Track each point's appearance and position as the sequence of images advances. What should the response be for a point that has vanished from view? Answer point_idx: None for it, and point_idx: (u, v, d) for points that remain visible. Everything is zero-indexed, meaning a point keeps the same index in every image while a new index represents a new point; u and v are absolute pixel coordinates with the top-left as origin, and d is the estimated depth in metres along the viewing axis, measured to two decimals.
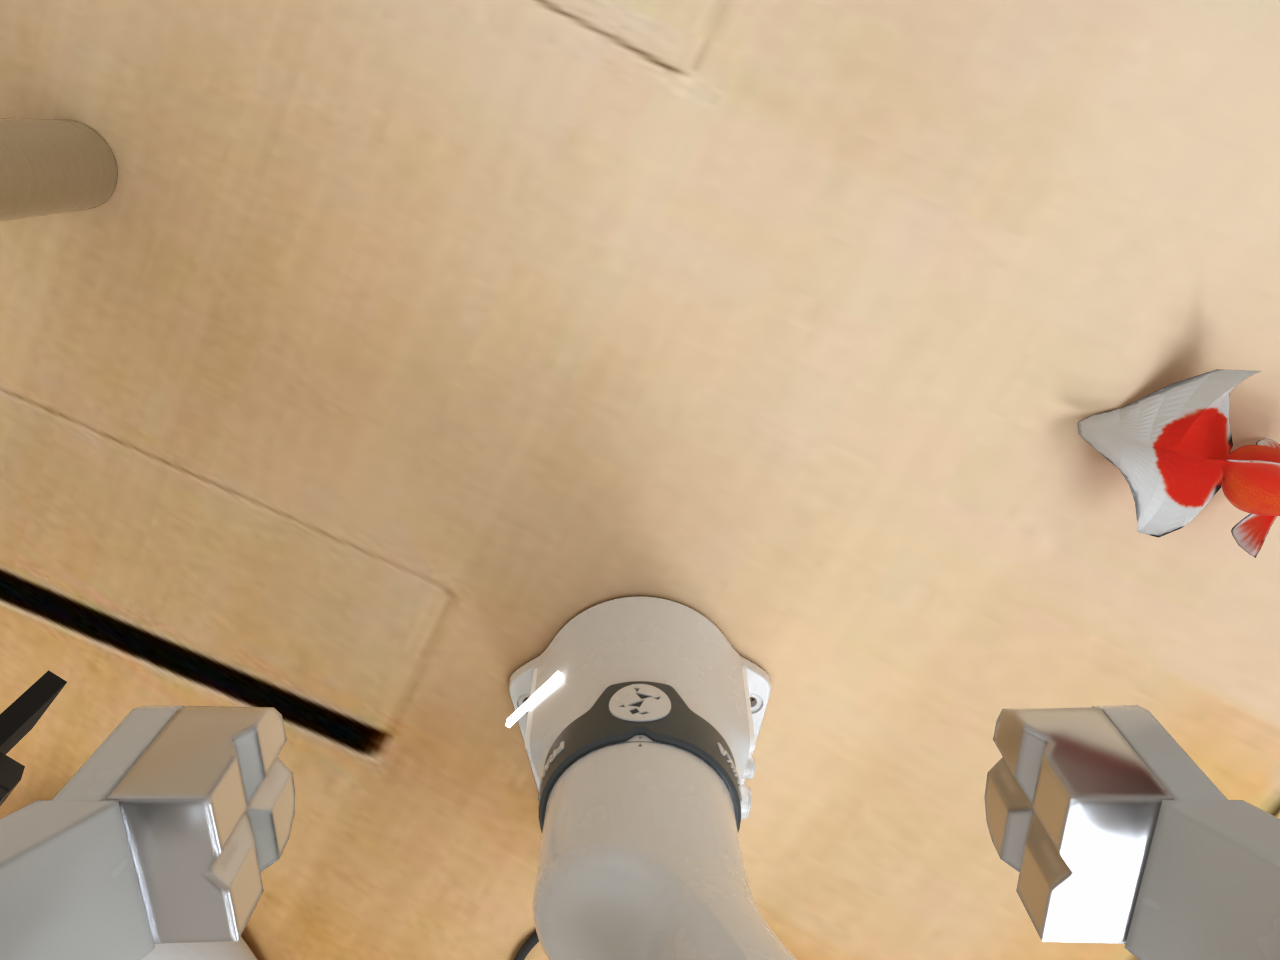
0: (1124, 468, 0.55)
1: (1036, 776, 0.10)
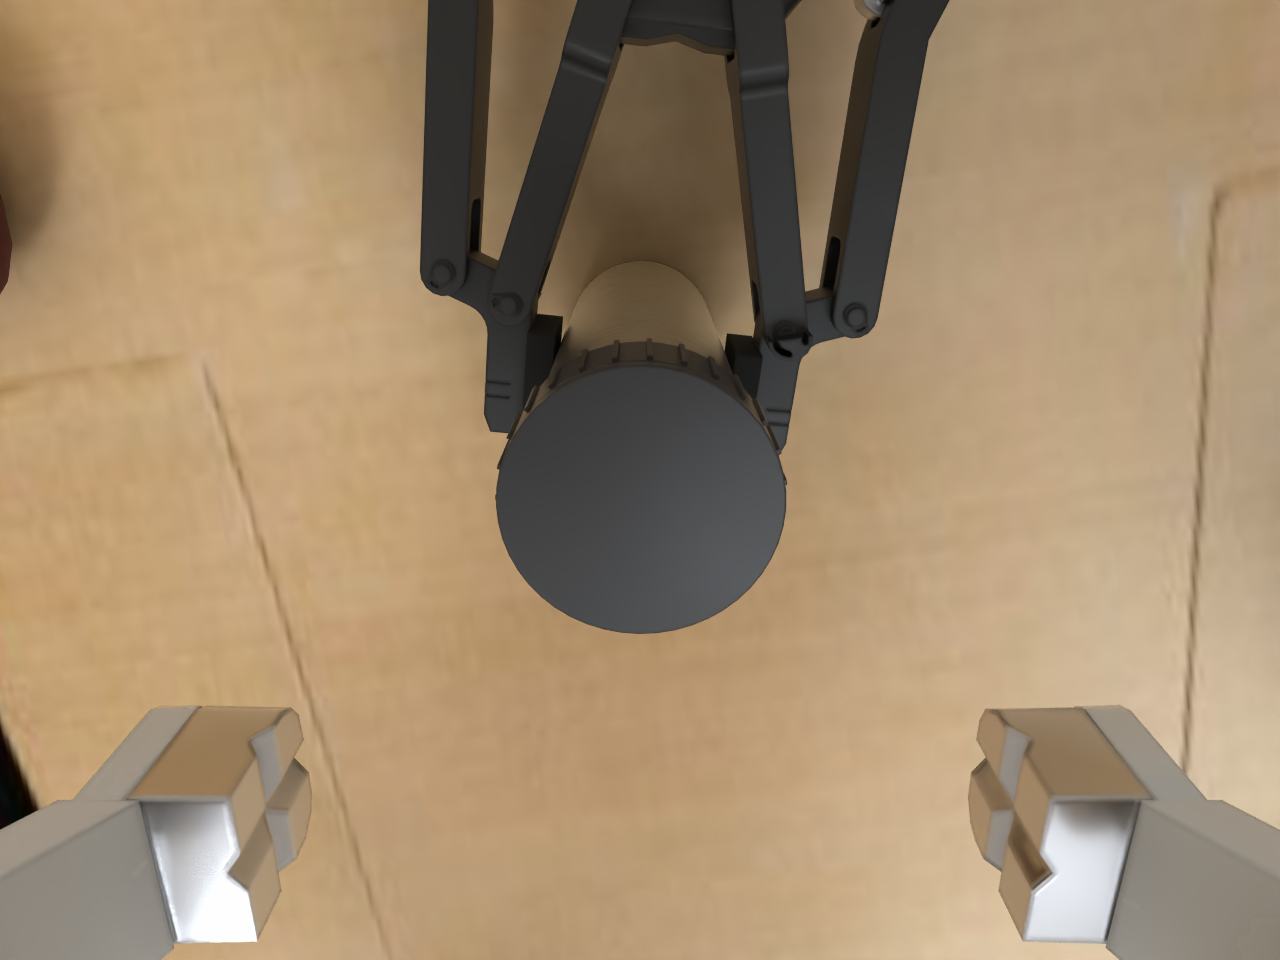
0: None
1: (1018, 776, 0.10)
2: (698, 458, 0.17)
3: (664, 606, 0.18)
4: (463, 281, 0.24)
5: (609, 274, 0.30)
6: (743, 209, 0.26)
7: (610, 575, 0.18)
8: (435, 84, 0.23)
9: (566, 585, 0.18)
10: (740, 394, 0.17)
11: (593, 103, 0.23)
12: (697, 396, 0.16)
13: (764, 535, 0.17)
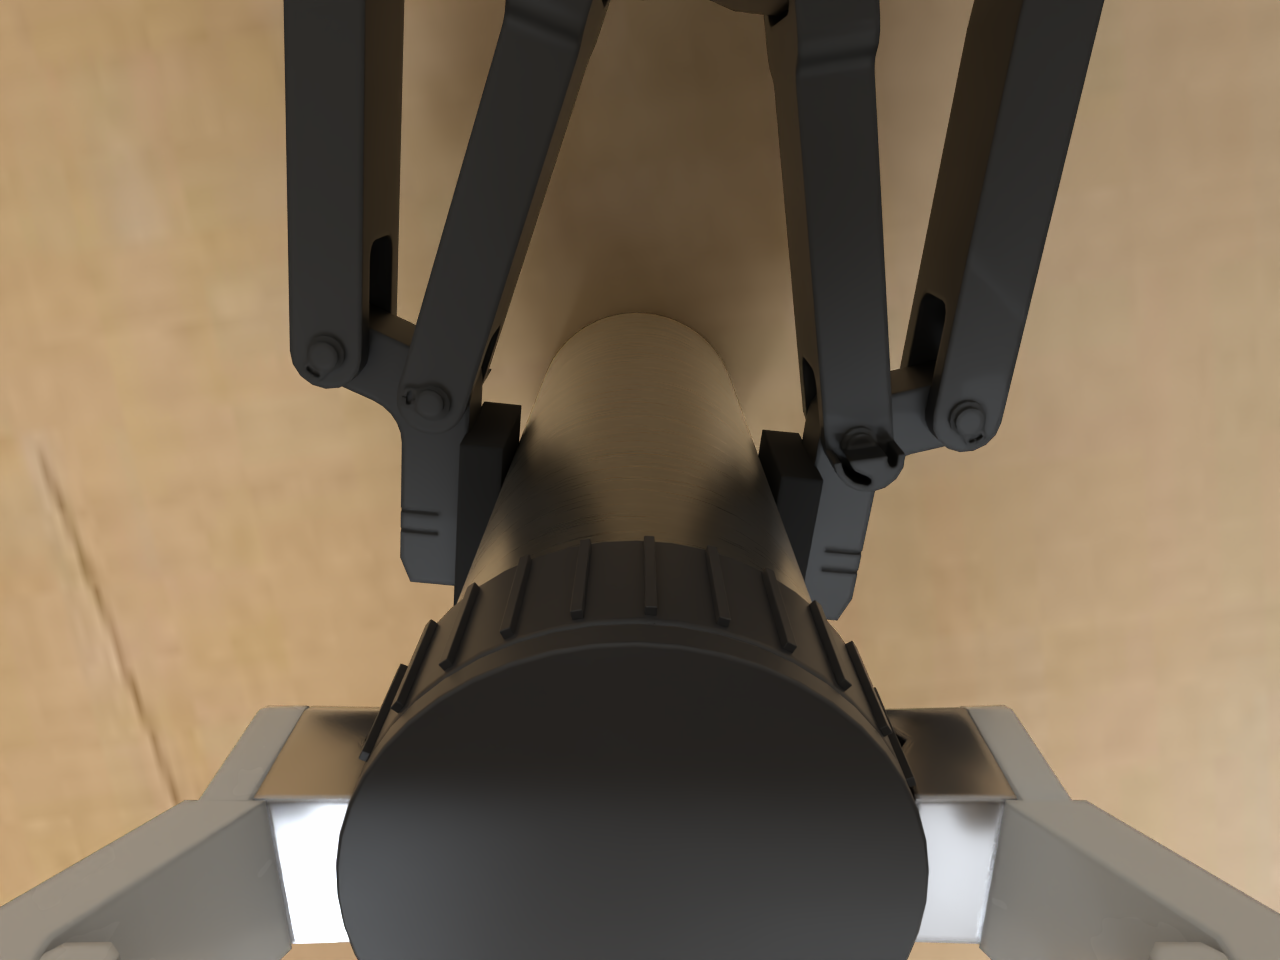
0: None
1: None
2: (750, 815, 0.08)
3: None
4: (358, 366, 0.16)
5: (592, 335, 0.21)
6: (791, 251, 0.17)
7: None
8: (300, 56, 0.14)
9: None
10: (837, 676, 0.08)
11: (559, 88, 0.14)
12: (752, 701, 0.08)
13: (880, 947, 0.09)
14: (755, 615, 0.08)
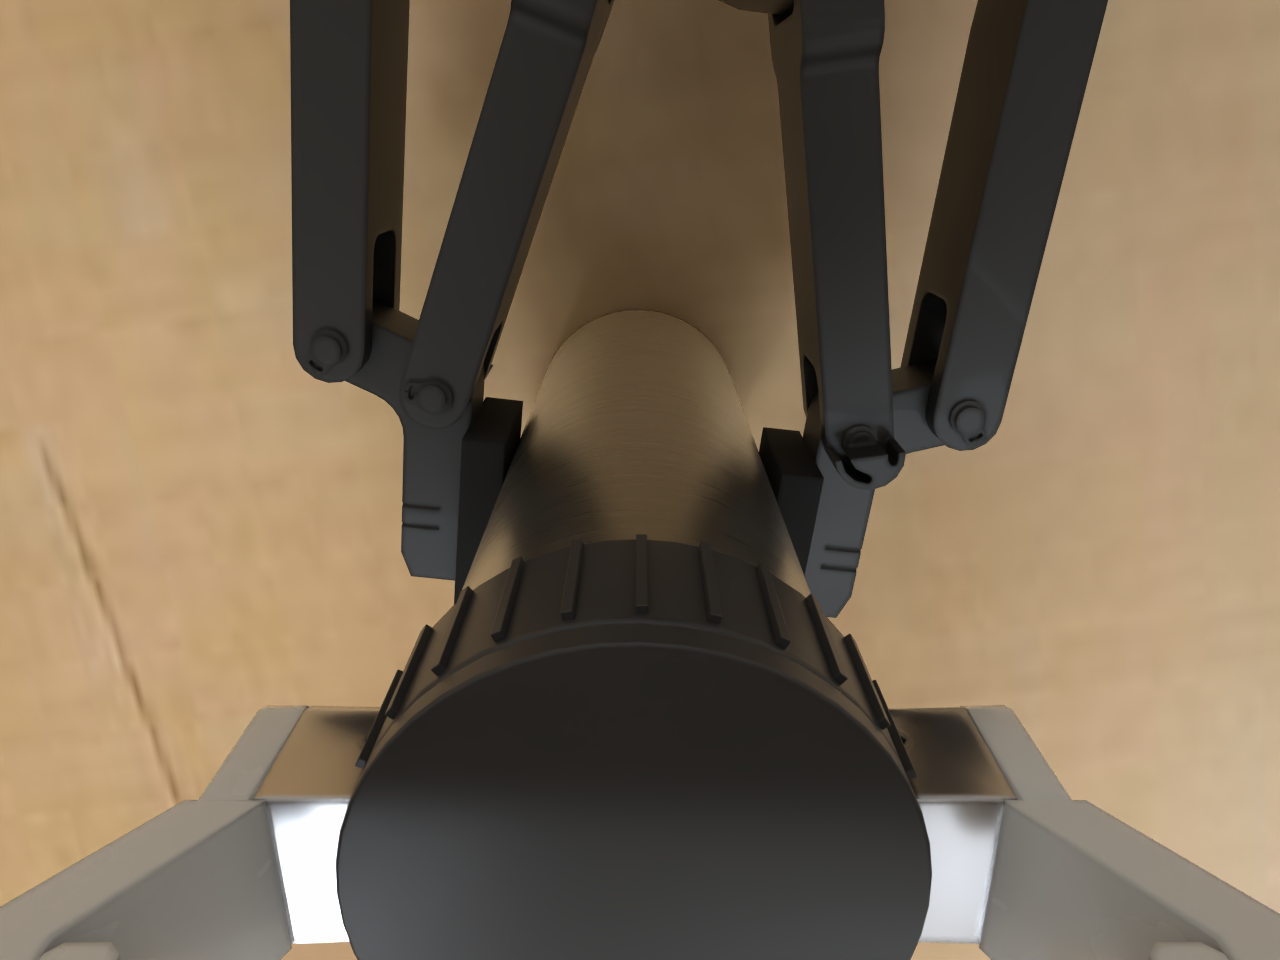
0: None
1: None
2: (538, 798, 0.08)
3: (869, 888, 0.08)
4: (361, 360, 0.16)
5: (593, 332, 0.21)
6: (793, 250, 0.17)
7: None
8: (306, 50, 0.14)
9: None
10: (437, 668, 0.08)
11: (564, 84, 0.14)
12: (403, 785, 0.08)
13: (741, 693, 0.08)
14: None
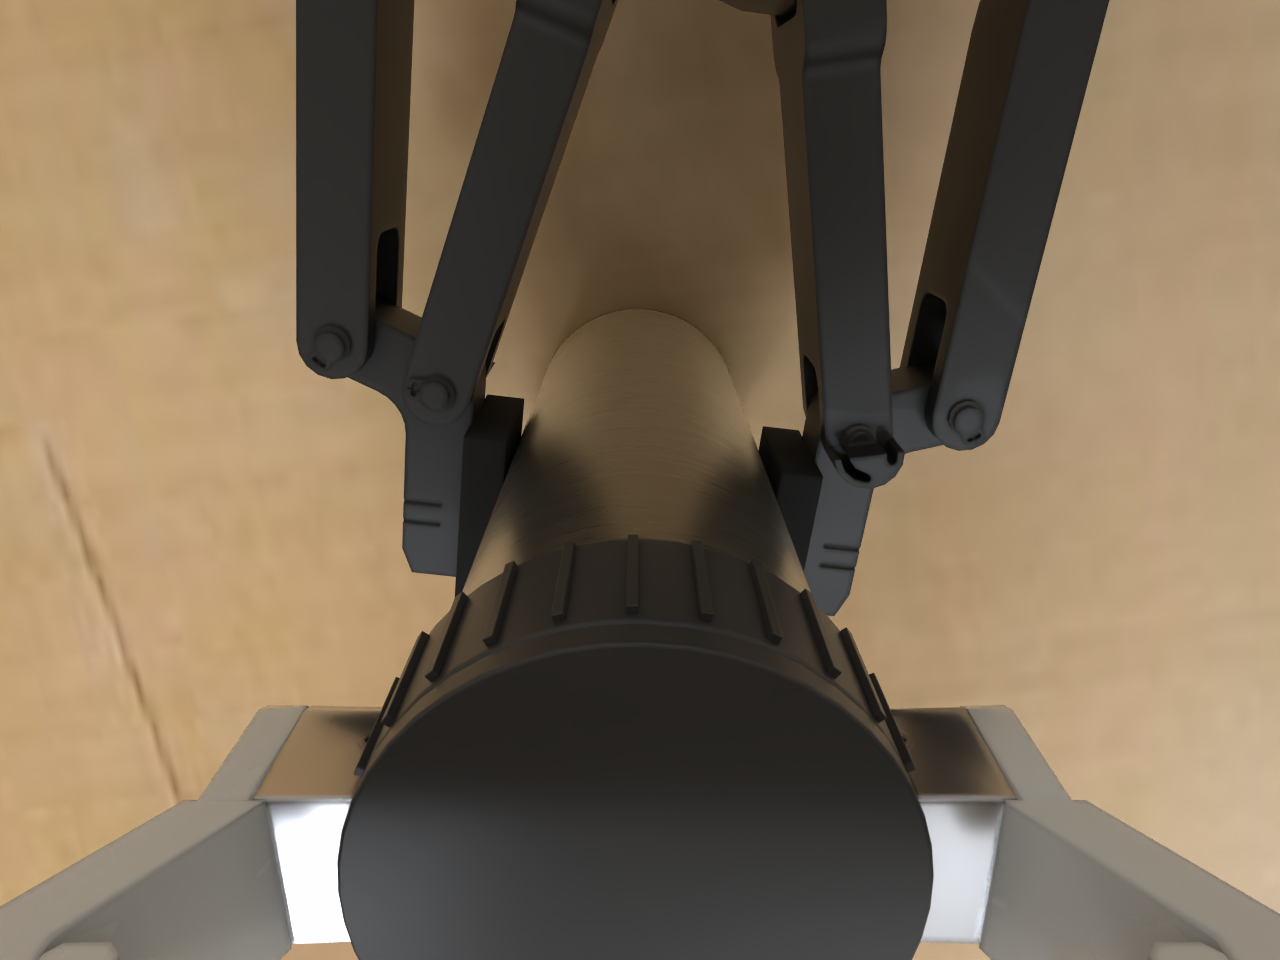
0: None
1: None
2: (499, 954, 0.09)
3: (652, 704, 0.08)
4: (364, 357, 0.16)
5: (594, 330, 0.21)
6: (794, 250, 0.17)
7: (746, 796, 0.08)
8: (311, 48, 0.14)
9: (847, 798, 0.08)
10: None
11: (567, 83, 0.14)
12: None
13: (394, 796, 0.08)
14: None
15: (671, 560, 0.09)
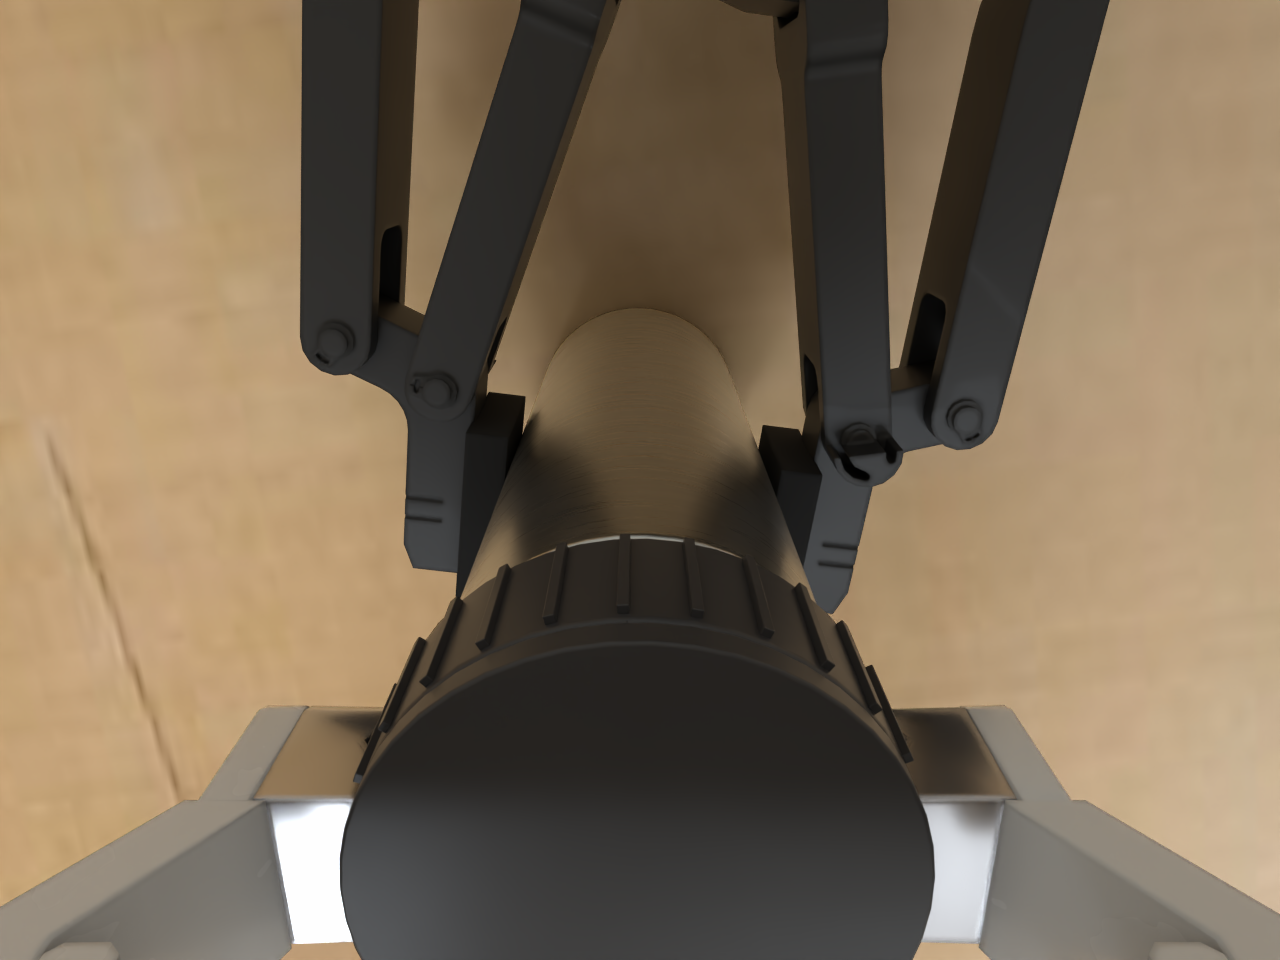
0: None
1: None
2: None
3: (403, 863, 0.08)
4: (367, 354, 0.16)
5: (595, 329, 0.21)
6: (795, 250, 0.17)
7: (516, 802, 0.08)
8: (317, 46, 0.14)
9: (529, 718, 0.08)
10: None
11: (571, 83, 0.14)
12: None
13: None
14: None
15: None
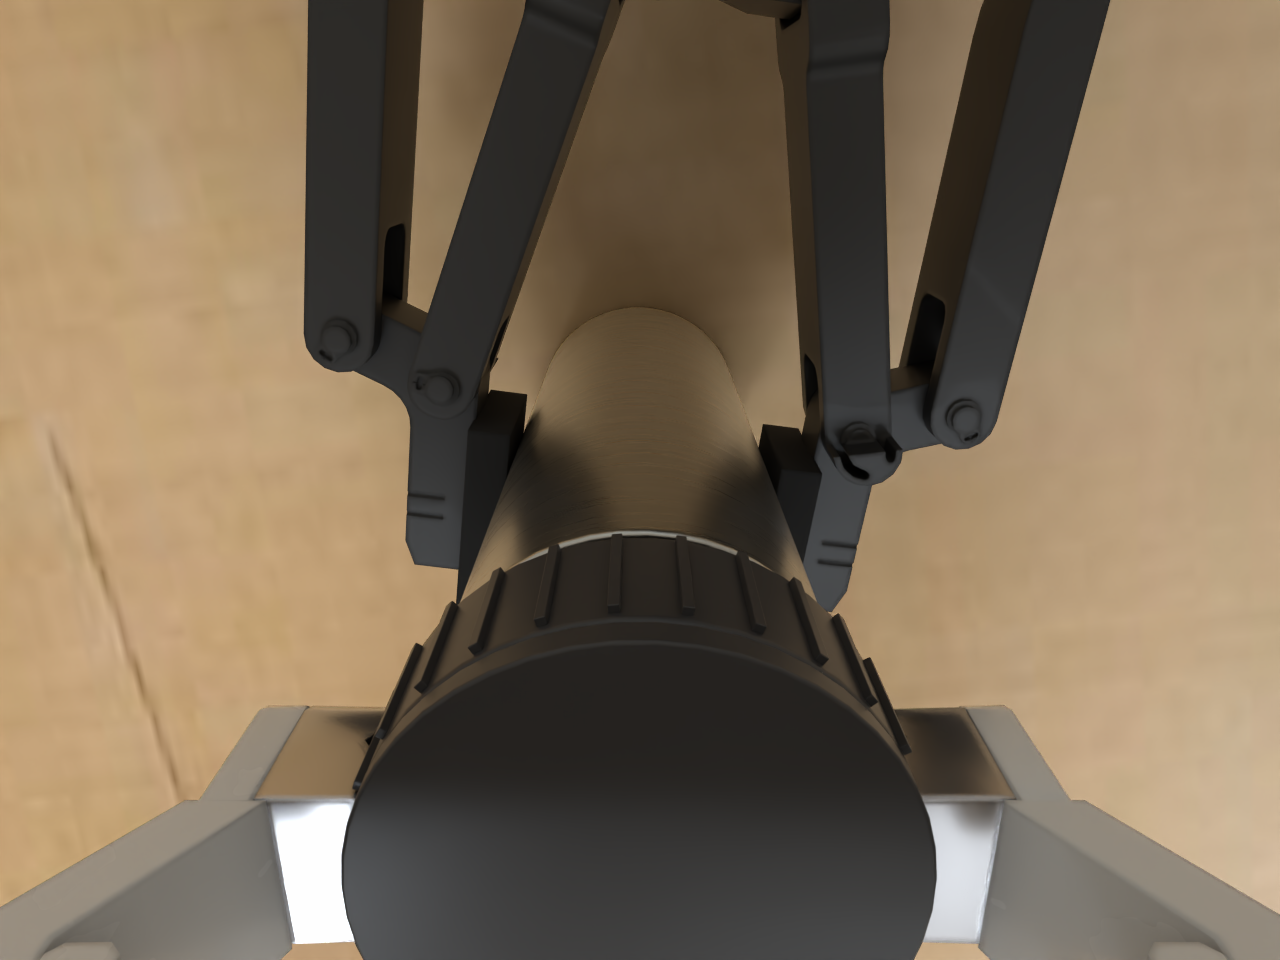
0: None
1: None
2: (794, 877, 0.08)
3: None
4: (371, 351, 0.16)
5: (596, 328, 0.21)
6: (796, 250, 0.17)
7: None
8: (323, 45, 0.14)
9: (415, 950, 0.09)
10: None
11: (575, 84, 0.14)
12: (869, 784, 0.08)
13: None
14: (878, 703, 0.09)
15: None
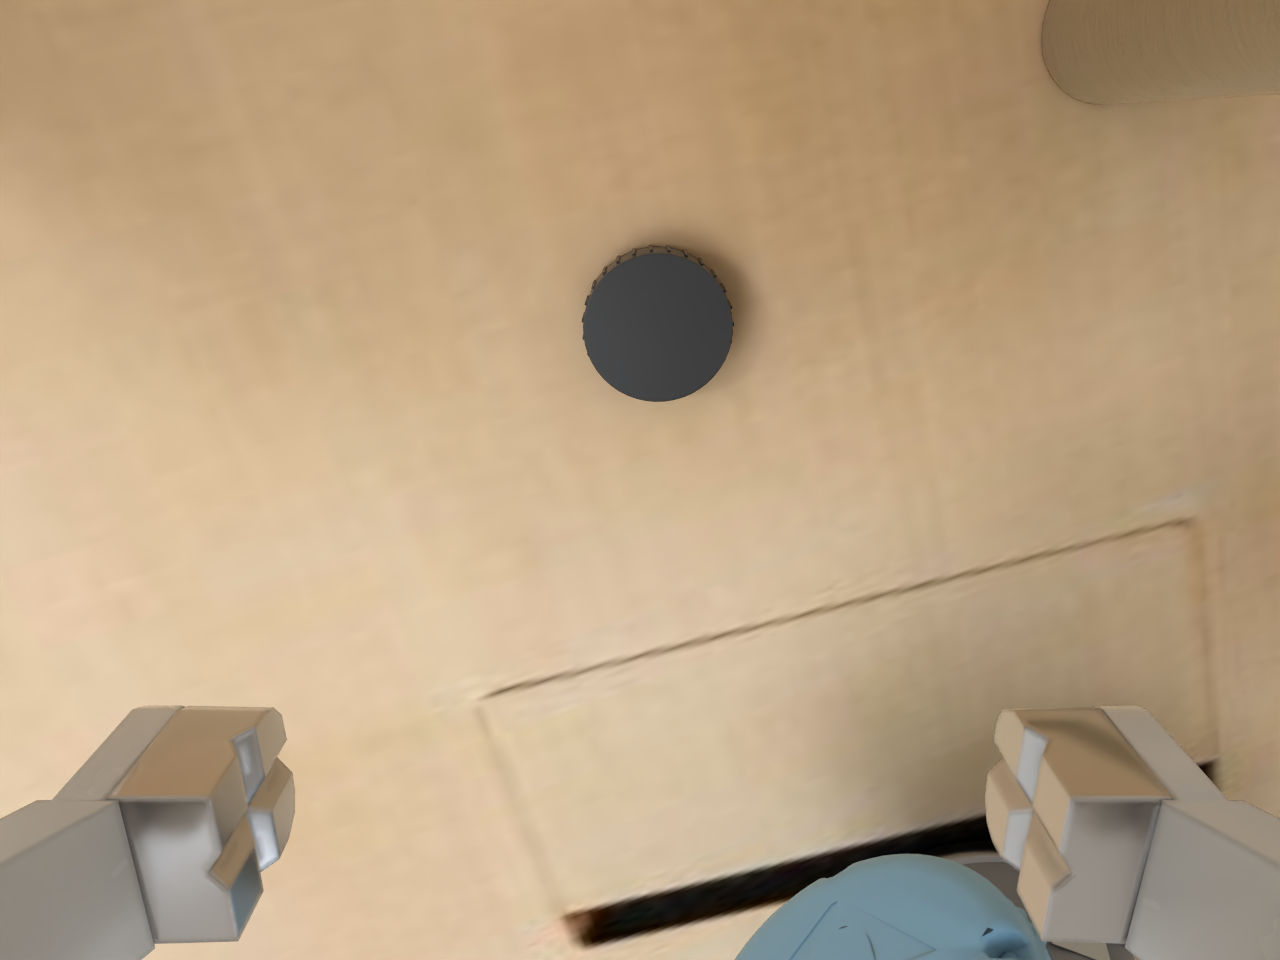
0: None
1: (1036, 776, 0.10)
2: (696, 322, 0.33)
3: (638, 383, 0.34)
4: None
5: None
6: None
7: (623, 354, 0.34)
8: None
9: (600, 347, 0.33)
10: (729, 305, 0.34)
11: None
12: (713, 293, 0.33)
13: (703, 375, 0.34)
14: None
15: None
